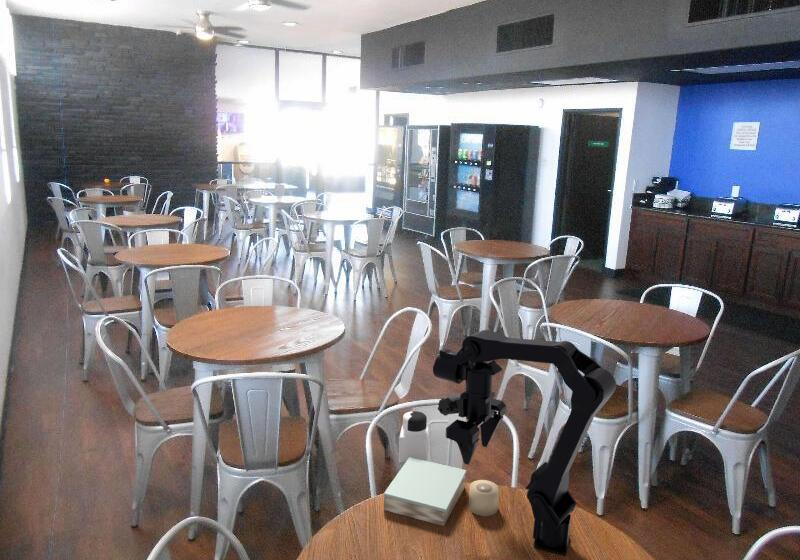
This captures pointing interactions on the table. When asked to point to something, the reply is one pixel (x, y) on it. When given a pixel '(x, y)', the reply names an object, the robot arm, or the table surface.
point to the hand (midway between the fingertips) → (475, 454)
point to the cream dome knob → (483, 498)
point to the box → (422, 508)
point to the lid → (426, 484)
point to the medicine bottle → (413, 437)
